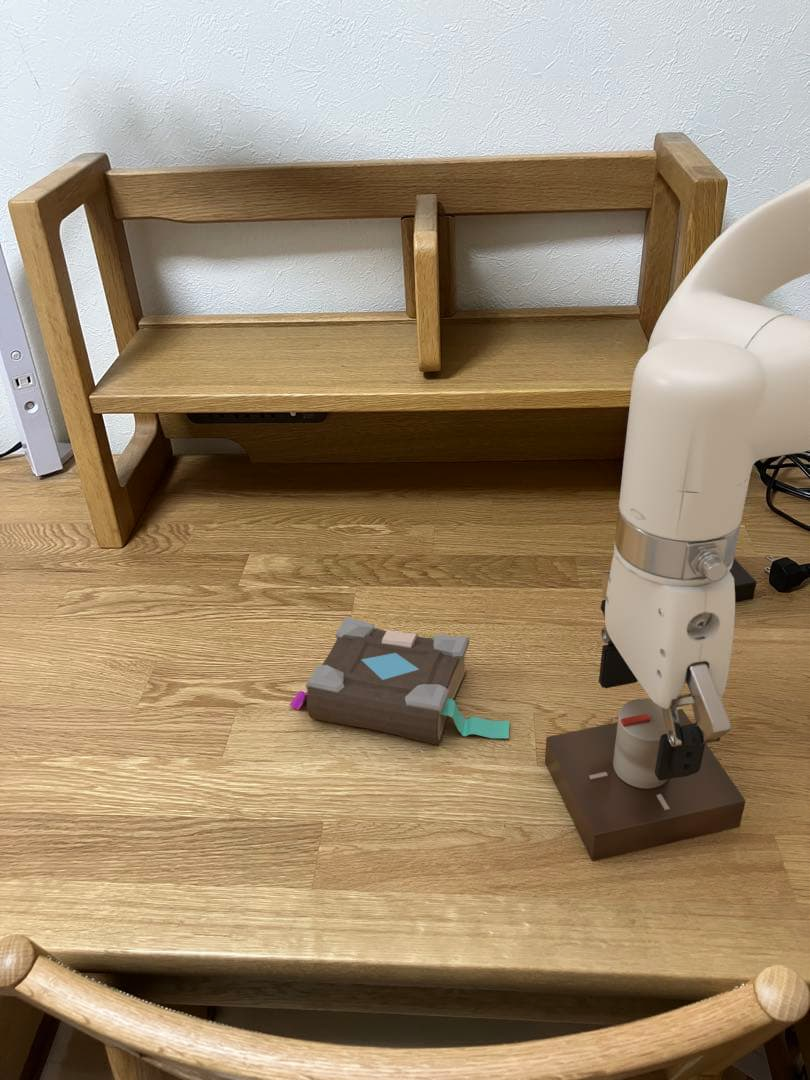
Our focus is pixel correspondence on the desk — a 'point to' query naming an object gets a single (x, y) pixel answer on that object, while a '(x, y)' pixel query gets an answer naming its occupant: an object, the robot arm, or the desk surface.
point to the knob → (639, 743)
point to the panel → (636, 796)
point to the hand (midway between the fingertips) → (645, 725)
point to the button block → (742, 582)
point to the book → (393, 684)
